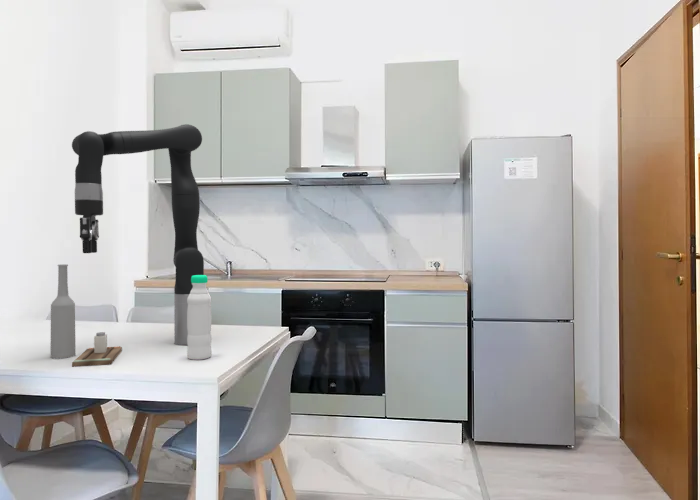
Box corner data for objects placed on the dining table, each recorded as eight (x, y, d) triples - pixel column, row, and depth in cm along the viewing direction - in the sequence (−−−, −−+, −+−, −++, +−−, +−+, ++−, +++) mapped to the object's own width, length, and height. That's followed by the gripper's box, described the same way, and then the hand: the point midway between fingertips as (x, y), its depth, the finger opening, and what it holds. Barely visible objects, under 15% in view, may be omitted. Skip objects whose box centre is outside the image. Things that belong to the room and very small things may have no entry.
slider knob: (107, 350, 150) (107, 331, 150) (105, 352, 147) (105, 333, 147) (96, 351, 149) (96, 332, 149) (94, 353, 146) (94, 334, 146)
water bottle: (198, 361, 142) (198, 276, 142) (182, 358, 146) (182, 275, 145) (216, 356, 148) (216, 275, 148) (200, 353, 152) (200, 274, 151)
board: (121, 350, 155) (121, 345, 155) (111, 364, 138) (111, 358, 138) (87, 352, 153) (87, 347, 153) (72, 366, 135) (71, 360, 135)
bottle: (49, 355, 149) (48, 264, 148) (73, 352, 153) (73, 264, 152) (51, 359, 143) (51, 265, 143) (77, 356, 147) (76, 264, 147)
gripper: (98, 197, 141) (99, 253, 141) (106, 201, 154) (107, 252, 154) (69, 197, 138) (70, 253, 139) (80, 201, 152) (81, 252, 152)
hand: (90, 252), depth 147 cm, fingers open, 8 cm apart
